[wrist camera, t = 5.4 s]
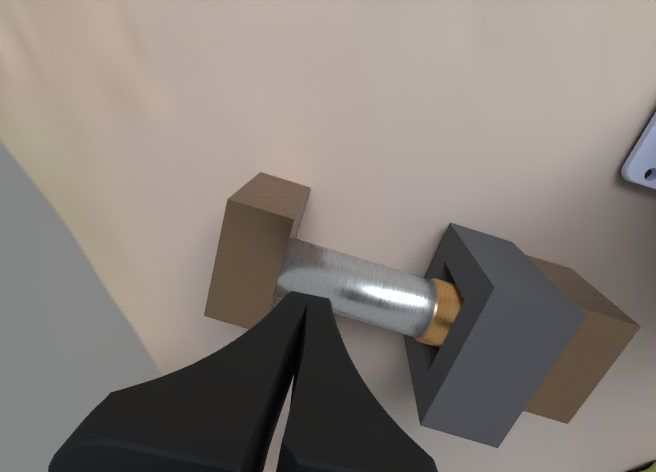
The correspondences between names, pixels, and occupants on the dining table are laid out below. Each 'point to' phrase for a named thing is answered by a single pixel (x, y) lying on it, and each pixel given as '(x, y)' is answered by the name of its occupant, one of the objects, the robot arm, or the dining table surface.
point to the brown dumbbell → (386, 291)
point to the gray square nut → (489, 338)
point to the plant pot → (651, 468)
